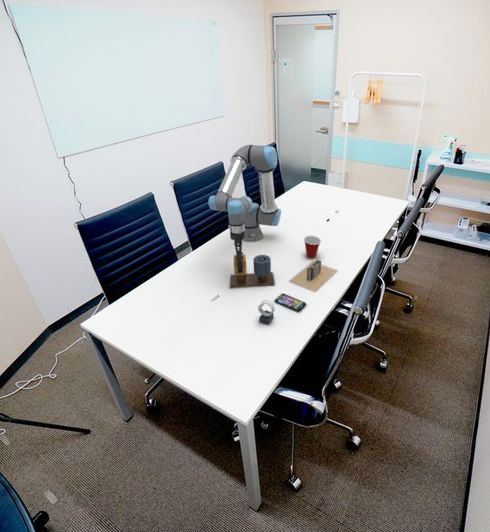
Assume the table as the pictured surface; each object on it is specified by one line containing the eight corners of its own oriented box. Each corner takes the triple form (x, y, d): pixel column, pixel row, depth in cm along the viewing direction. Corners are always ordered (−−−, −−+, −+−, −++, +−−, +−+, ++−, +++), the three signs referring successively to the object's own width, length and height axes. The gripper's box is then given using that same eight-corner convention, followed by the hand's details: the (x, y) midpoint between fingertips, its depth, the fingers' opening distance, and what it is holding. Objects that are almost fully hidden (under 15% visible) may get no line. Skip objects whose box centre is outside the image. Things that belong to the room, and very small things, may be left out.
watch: (261, 313, 163) (261, 296, 157) (276, 318, 160) (276, 300, 154) (256, 320, 159) (255, 302, 153) (271, 325, 156) (270, 307, 150)
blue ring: (250, 270, 185) (250, 258, 181) (263, 265, 190) (263, 253, 186) (260, 277, 179) (260, 265, 175) (274, 271, 184) (273, 259, 180)
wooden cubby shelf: (234, 269, 185) (233, 255, 181) (246, 268, 186) (245, 254, 181) (234, 275, 180) (233, 261, 175) (246, 274, 181) (245, 260, 176)
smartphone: (298, 311, 163) (273, 300, 171) (298, 312, 164) (273, 301, 171) (306, 302, 169) (282, 292, 176) (306, 304, 169) (282, 294, 177)
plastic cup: (319, 261, 206) (320, 244, 199) (301, 259, 207) (302, 242, 201) (321, 252, 215) (322, 236, 208) (304, 251, 216) (305, 234, 210)
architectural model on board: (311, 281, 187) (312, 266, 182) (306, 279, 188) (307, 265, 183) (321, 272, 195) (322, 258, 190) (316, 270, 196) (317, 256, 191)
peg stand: (230, 288, 181) (228, 266, 174) (230, 276, 190) (228, 255, 183) (274, 285, 184) (273, 263, 176) (272, 274, 193) (272, 253, 186)
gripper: (230, 223, 177) (233, 260, 190) (229, 240, 161) (233, 279, 174) (244, 222, 178) (247, 259, 191) (244, 239, 162) (247, 278, 174)
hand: (240, 268), depth 182 cm, fingers closed on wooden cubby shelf, 6 cm apart
